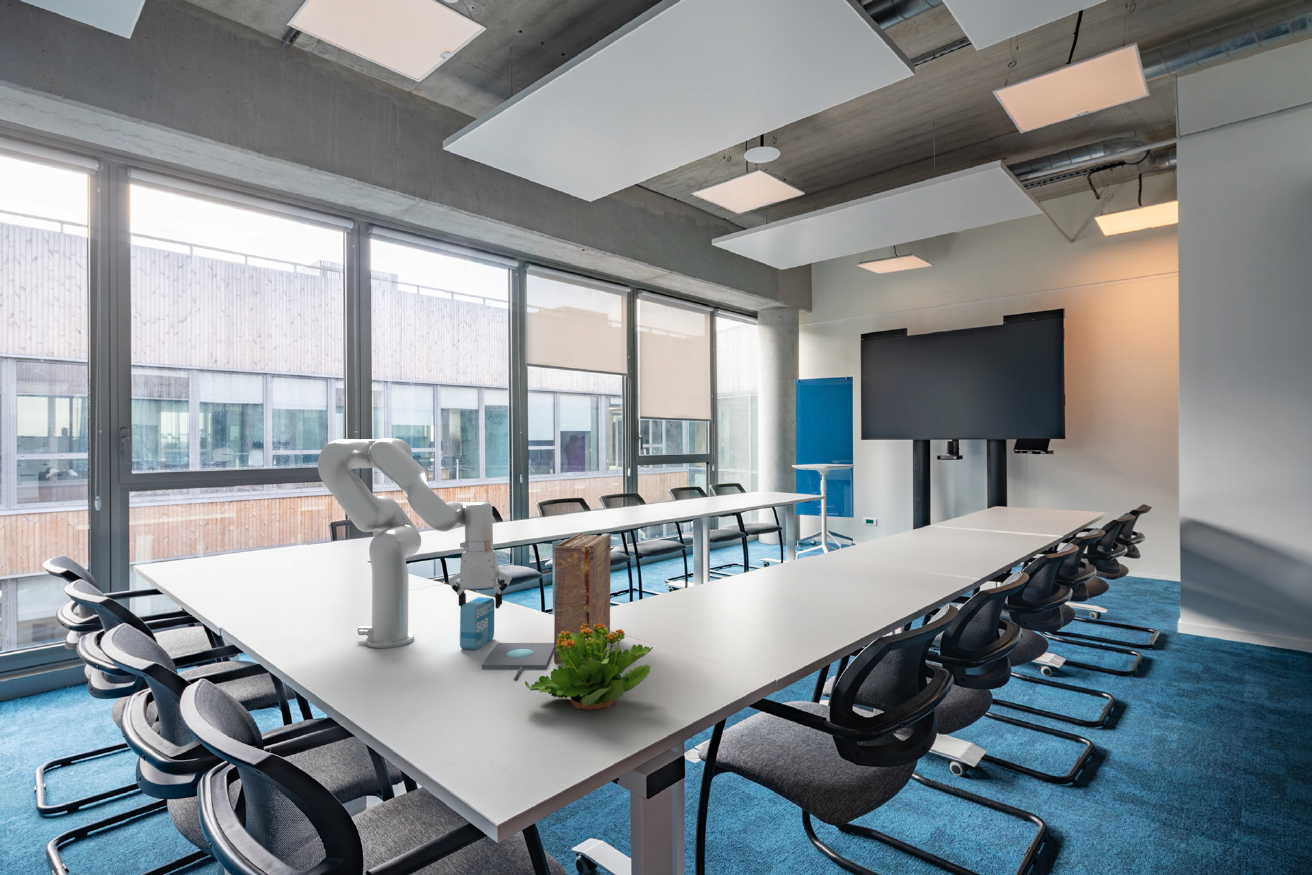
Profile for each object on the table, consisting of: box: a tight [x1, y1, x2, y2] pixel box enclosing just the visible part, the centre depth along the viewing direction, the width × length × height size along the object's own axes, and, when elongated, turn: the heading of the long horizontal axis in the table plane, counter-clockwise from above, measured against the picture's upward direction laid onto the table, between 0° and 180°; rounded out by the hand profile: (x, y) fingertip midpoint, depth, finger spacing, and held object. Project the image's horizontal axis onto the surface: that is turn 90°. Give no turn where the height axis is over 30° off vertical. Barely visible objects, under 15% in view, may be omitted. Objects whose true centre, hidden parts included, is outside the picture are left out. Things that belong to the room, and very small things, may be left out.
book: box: [553, 532, 612, 664], centre depth 180 cm, size 25×9×30 cm, turn 172°
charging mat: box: [481, 642, 554, 681], centre depth 169 cm, size 16×26×1 cm, turn 1°
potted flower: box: [524, 623, 654, 711], centre depth 144 cm, size 25×24×18 cm
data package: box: [459, 596, 495, 651], centre depth 184 cm, size 12×4×12 cm, turn 169°
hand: (480, 607), depth 184 cm, fingers open, 9 cm apart
